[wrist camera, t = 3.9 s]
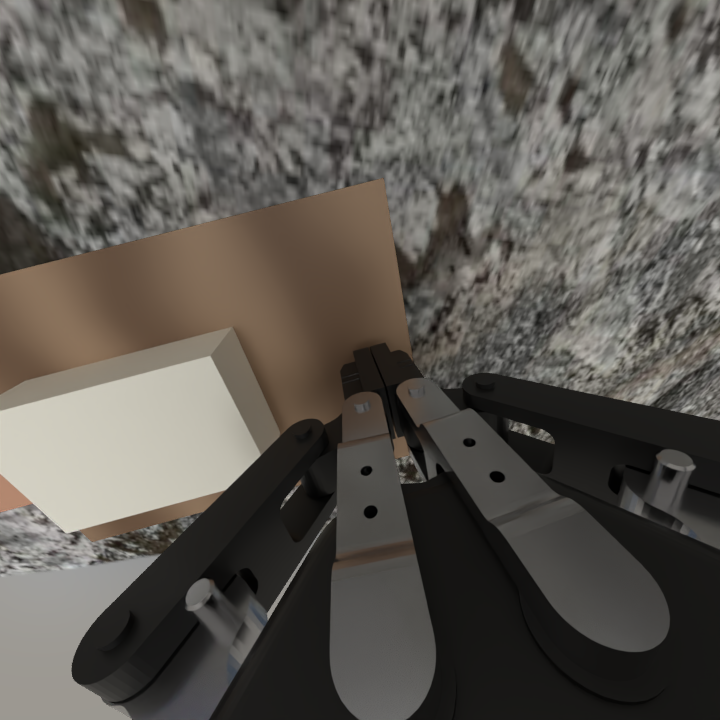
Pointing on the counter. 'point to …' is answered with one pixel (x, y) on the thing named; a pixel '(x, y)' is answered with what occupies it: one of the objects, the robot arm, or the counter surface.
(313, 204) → the deck
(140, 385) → the cream brick
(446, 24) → the counter surface
